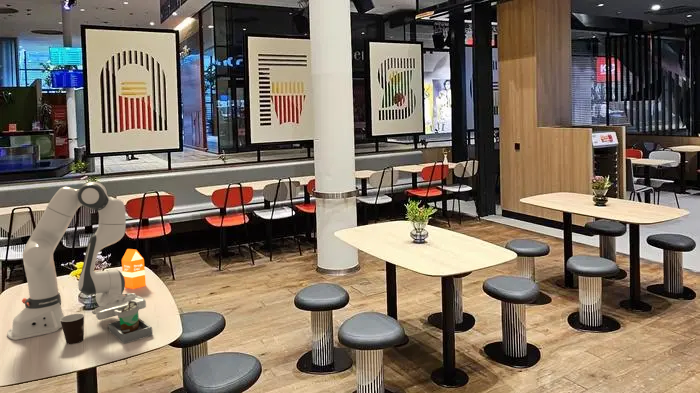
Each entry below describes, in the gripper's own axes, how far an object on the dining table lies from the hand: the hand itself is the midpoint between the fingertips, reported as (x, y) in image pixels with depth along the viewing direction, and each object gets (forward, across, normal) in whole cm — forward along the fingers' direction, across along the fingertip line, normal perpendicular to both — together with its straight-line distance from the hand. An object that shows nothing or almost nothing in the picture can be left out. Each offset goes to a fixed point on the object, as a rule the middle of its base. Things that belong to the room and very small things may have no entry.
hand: (127, 312), depth 231 cm
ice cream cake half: (+2, +2, +7) cm, 7 cm away
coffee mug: (-8, -18, +8) cm, 22 cm away
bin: (+2, 0, +8) cm, 9 cm away
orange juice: (-61, +25, +9) cm, 66 cm away
